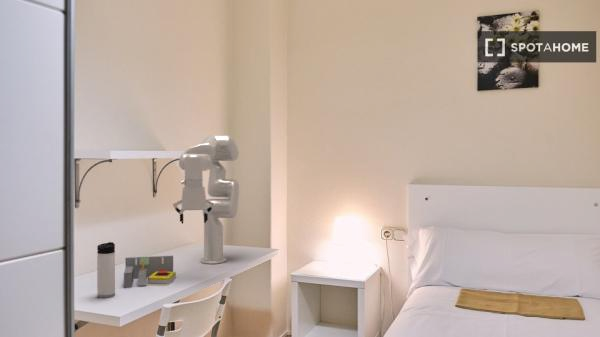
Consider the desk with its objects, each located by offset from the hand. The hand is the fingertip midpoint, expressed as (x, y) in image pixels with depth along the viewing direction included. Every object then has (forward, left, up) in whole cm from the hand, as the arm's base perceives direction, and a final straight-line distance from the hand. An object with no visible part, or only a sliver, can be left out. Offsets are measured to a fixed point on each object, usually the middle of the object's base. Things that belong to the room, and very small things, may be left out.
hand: (193, 222), depth 214 cm
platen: (+2, -21, -25) cm, 32 cm away
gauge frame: (0, -19, -24) cm, 31 cm away
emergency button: (+1, -13, -25) cm, 29 cm away
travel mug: (+18, -34, -25) cm, 45 cm away
